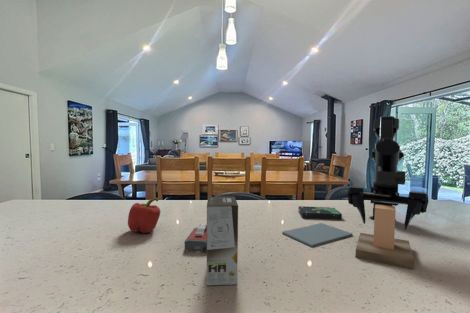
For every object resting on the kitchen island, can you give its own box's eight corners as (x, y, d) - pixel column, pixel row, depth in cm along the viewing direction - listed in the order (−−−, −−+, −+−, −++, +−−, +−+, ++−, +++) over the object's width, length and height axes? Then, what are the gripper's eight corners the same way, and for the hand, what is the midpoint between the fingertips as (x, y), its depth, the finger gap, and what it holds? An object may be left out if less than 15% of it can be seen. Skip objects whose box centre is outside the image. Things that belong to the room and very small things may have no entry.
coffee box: (238, 285, 51) (239, 205, 50) (206, 286, 50) (206, 205, 49) (234, 263, 60) (235, 195, 59) (207, 264, 59) (207, 196, 59)
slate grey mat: (321, 224, 89) (321, 223, 89) (352, 235, 79) (352, 233, 79) (282, 233, 80) (282, 231, 80) (311, 247, 70) (311, 244, 70)
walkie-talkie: (215, 255, 65) (225, 229, 85) (215, 238, 65) (225, 216, 84) (181, 254, 66) (199, 228, 85) (181, 237, 65) (199, 215, 85)
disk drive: (302, 220, 97) (342, 220, 96) (302, 212, 97) (342, 213, 95) (298, 212, 107) (334, 213, 106) (298, 206, 107) (334, 206, 106)
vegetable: (149, 223, 89) (149, 195, 89) (169, 229, 83) (169, 199, 83) (120, 232, 80) (119, 200, 80) (139, 239, 74) (139, 205, 74)
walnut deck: (359, 239, 76) (360, 232, 76) (408, 247, 70) (408, 240, 70) (355, 257, 64) (355, 249, 64) (413, 269, 58) (414, 260, 58)
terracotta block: (374, 240, 70) (375, 204, 69) (393, 243, 68) (394, 206, 67) (373, 245, 66) (374, 207, 65) (393, 249, 64) (395, 210, 63)
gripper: (349, 159, 74) (342, 203, 65) (429, 161, 65) (434, 214, 56) (351, 182, 81) (345, 225, 72) (423, 188, 72) (427, 238, 63)
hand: (384, 225), depth 66 cm, fingers open, 9 cm apart
